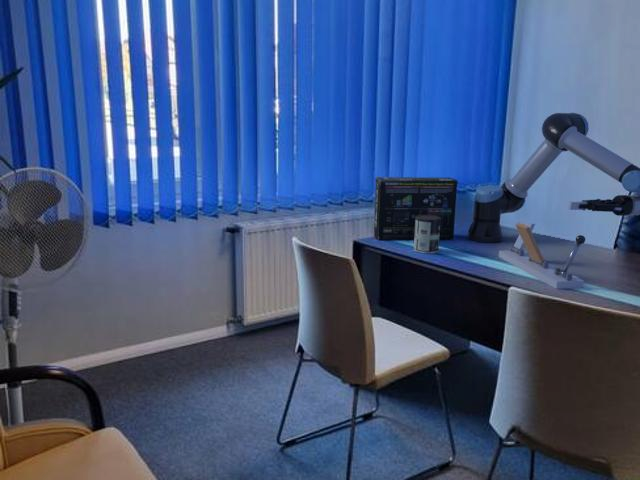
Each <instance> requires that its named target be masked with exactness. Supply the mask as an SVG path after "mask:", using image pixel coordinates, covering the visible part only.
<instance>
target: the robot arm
mask: <svg viewBox="0 0 640 480" xmlns="http://www.w3.org/2000/svg"><path fill="white" fill-rule="evenodd" d="M541 133H542V136H543V137H544V140H543V141H542V142H541V144H540V145H539V146H538V147H537V148H536V150H535V151H534V152H533V153H532V154H531V156H530V157H529V158H527V161H526V162H525V163H524V164H523V165H522V167H520V168H519V170H518V171H517V172H516V173H515V175H514V176H513V177H512V178H511V179H509V178H508V179H506V180H505V181H504V183H503V184H502V185H501V186H499V185H483V186H479V187H478V188H477V189H476V190H475V193H474V202H473V204H474V205H473V215H472V222H471V224H470V226H469V228H468V231H467V239H469V240H471V241H475V242H479V243H499V242H502V241H503V232H502V227H501V215H504V214H509V213H510V214H511V213H514V212H517V211H519V210H521V209H522V208H523V207H524V206H525V203H526V198H527V197H528V195H529V194H528V191H529V189H530V188H531V187H532V186H533V185H534V184H535V183H536V182H537V181H538V179H539V178H540V177H541V176H542V175H543V174H544V172H546V171H547V169H548V168H549V167H550V166H551V165H552V164H553V162H555V160H556V159H557V158H558V157H559V156H560V154H562V152H568V151H569V152H570V153H572V154H573V155H575V156H577V157H578V158H580V159H582V160H583V161H585V162H586V163H588V164H590V165H592V166H593V167H595V168H596V169H598V170H599V171H602V173H604V174H606V175H608V176H609V177H610V178H612V179H614V180H616V181H617V182H618V183H620V184H621V185H622V187H623V188H624V190H625V191H627V192H629V193H640V167H639V166H637V165H635V164H634V163H632V162H630V161H629V160H627V159H625V158H623V157H622V156H620V155H618V154H617V153H615V152H613V151H612V150H610V149H609V148H606V147H605V146H604V145H601V144H599V143H598V142H596V141H595V140H593V139H591V138H589V137H588V136H587V135H588V133H589V122H588V120H587V118H586V117H585V116H584V115H582V114H580V113H577V112H569V113H567V112H555V113H552V114H551V115H549V116H547V117H546V118H545V120H544V121H543V123H542V126H541ZM567 210H569V211H576V210H577V211H586V210H588V211H592V212H605V213H606V212H610V213H613V214H614V215H615V216H618V217H621V216H622V217H623V216H630V218H633V217H634V216H640V194H627V195H626V194H625V195H623V194H621V195H619V194H618V195H616V196H614V197H613V199H611V198H610V199H609V198H608V199H601V198H596V199H586V200H585V199H583V200H581V201H568V204H567Z"/></svg>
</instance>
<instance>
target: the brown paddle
mask: <svg viewBox="0 0 640 480" xmlns="http://www.w3.org/2000/svg"><path fill="white" fill-rule="evenodd" d="M524 224H525V223H524ZM524 224H523V223H520V222H516V223H515V224H514V225H515V226H516V229H517V232H518V234H520V236H521V238H522V240H523V242H524V244H525V246H524V248H526V252H527V253H529V255H530V257H531V258H530V259H531V260H532V261H534V262H535V263H537V264H539V265H541V266H543V262H546V261H545V259H544V256H543V254H542V252H541V250H540V248H539V246H538V244H537V241H536V240H535V237H534V235H533V231H532V232H531V230H530V228H529V227H528V226H526V225H524Z"/></svg>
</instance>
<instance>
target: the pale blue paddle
mask: <svg viewBox="0 0 640 480" xmlns="http://www.w3.org/2000/svg"><path fill="white" fill-rule="evenodd" d="M524 225H526V226H528V227H529V228H530V230H531V232H532V233H533V230H534V228H535V226H536V224H535V223H532V222H530V221H527V220H526V221H525V222H524ZM518 234H519V233H518ZM524 248H525V244H524V242H523V240H522V238H521V236H520V234H519V235H518V237H517V238H516V241H515V243H514V247H512V251H514V252H516V253H518V254H519V250H524Z"/></svg>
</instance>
